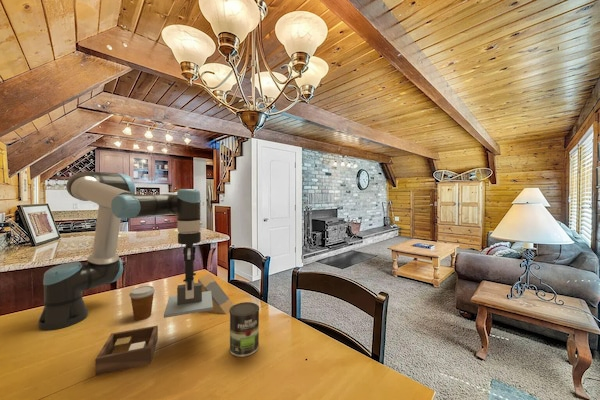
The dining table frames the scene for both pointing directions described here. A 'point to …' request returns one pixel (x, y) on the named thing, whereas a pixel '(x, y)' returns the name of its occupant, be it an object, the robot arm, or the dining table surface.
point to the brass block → (122, 344)
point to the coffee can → (244, 329)
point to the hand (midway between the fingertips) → (189, 296)
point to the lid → (188, 302)
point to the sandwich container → (216, 295)
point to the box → (127, 359)
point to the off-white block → (137, 345)
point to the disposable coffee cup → (142, 301)
